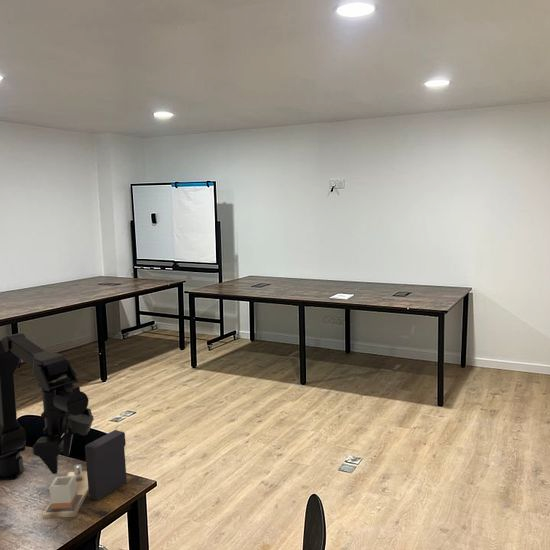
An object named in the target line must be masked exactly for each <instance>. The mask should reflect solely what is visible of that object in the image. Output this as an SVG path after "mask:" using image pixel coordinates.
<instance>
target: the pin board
mask: <svg viewBox="0 0 550 550" xmlns="http://www.w3.org/2000/svg"><path fill="white" fill-rule="evenodd" d="M66 476H74V471H68V473H67V475H66ZM76 487H77V499H76V500H75V502H74V504H73V506H72V508H62V509H51V501H50V502H49V504H48V505H47V507H46V508H45V510H44V512H43V513H42V519H59V518H73V517H76V516H77V515H78V513H79V511H80V509H81V507H82V505H83V502H84V501H85V499H86V497H87V496H88V494H89V490H88V478H87V470H84V471H83V470H82V480H81V481H76Z"/></svg>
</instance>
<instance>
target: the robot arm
mask: <svg viewBox="0 0 550 550" xmlns="http://www.w3.org/2000/svg"><path fill="white" fill-rule="evenodd" d="M20 360H22V362H24V363H25V364H27V365H29V366H30V367H31V369H32V372H33V373H32V375H33V376H34V378H36V380H37V381H38V384H37V387H38V388H40V389H41V399H42V406H43V412H42V413H41V414H40V417H41V419H44V427H43V429H42V434H43V435H47V434H48V436H41V437H39V438H38V439H37V441H36V442H35V443H34V444H33V446H32V447H31V448H32V455H33V456H36V457H39V459H41V461H42V462H43V463H44V464H45V465H46V467H47V468H48V470H49V471H50V472H51V474H52V475H56V474H58V471H59V458H60V454H61V453H63V456H64V457H69V456H70V453H71V447H72V442H73V438H74V437H73V436H74V434H79V435H81V436H87V435H88V433H89V432H90V430H91V428H92V425H93V422H94V421H95V420H94V415H93V413H92V409H91V408H88V406H89V397H88V395H87V394H86V393H85V392H84V391H81V388H80V385H74V384H77V383H78V382H79V381H78V378H77V374H76V372H75V371H74V368H73V367H72V365H71V364H70V363H71V362H70V361H69V360H68V358H67V357H66V356H64V355H63V354H60V353H59V352H52V351H50V352H49V351H45V350H44V349H43V348H41V347H40V346H38V345H37V344H35V343H34V342H33V341H31V340H30V339H28V338H27V337H26V335H25V334H24V333H22V332H21V333H20V332H17V333H14V334H10V335H6V336H3V337H2V338H1V339H0V481H2V480H15V479H17V478H18V477H19V475H20V474H21V473H22V472H23V470H24V469H25V466H24V461H23V459H24V458H23V456H21V452H24V451H26V443H27V436H26V435H27V434H26V429H25V428H24V427H22V425H21V424H20V423H19V422H18V420H17V419H18V417H17V415H18V413H17V403H16V400H17V399H16V387H15V384H16V383H15V372H16V370H17V369H18V367H19V366H20Z"/></svg>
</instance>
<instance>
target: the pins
mask: <svg viewBox="0 0 550 550" xmlns="http://www.w3.org/2000/svg"><path fill="white" fill-rule="evenodd" d="M82 468H83V467H82V464H81V463H80V464H79V463H78V464H75V465H74V466H73V472H74V476H76V481H81V480H82V471H83V470H82Z"/></svg>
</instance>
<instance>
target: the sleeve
mask: <svg viewBox="0 0 550 550" xmlns="http://www.w3.org/2000/svg"><path fill="white" fill-rule="evenodd" d="M48 489H49V500H50V502H51V509H62V508H72V506H73V504H74V502H75V500H76V499H77V487H76V476H67V475H64V476H55V478H54V479H53V481H52V482H51V483H50V485H49V487H48Z"/></svg>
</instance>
